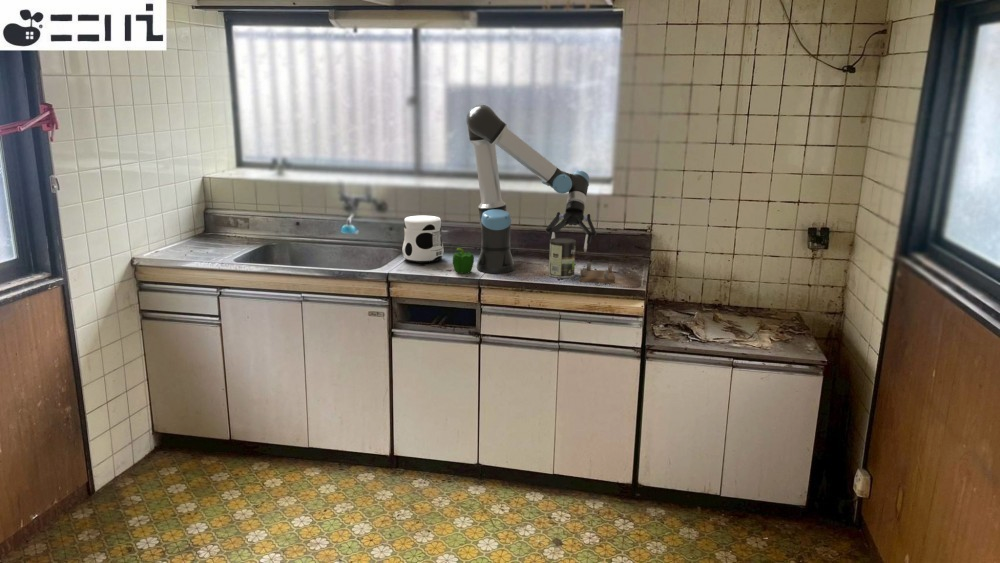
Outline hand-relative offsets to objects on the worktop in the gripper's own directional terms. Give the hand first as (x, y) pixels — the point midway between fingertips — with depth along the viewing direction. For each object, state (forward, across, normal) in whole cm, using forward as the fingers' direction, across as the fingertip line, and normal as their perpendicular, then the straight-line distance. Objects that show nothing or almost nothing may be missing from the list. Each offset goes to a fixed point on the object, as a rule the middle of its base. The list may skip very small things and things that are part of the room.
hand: (568, 248), depth 282 cm
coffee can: (+10, +2, -5) cm, 11 cm away
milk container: (+6, +62, -8) cm, 63 cm away
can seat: (+10, -12, -4) cm, 16 cm away
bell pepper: (+16, +40, +2) cm, 43 cm away
